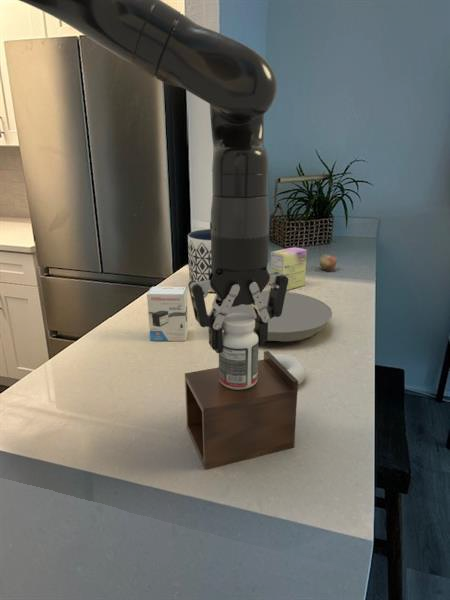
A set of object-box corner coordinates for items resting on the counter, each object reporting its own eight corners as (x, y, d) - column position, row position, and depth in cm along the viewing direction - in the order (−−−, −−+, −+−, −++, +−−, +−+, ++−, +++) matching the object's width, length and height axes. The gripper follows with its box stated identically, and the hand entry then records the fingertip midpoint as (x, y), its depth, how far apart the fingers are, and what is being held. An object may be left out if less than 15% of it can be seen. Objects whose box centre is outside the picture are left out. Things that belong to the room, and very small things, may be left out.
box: (292, 281, 142) (294, 246, 138) (305, 285, 138) (307, 249, 134) (269, 287, 136) (270, 251, 132) (282, 292, 132) (283, 254, 128)
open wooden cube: (205, 469, 60) (203, 399, 56) (186, 428, 69) (184, 365, 65) (294, 447, 65) (298, 380, 61) (266, 410, 73) (268, 350, 70)
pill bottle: (241, 367, 67) (242, 308, 64) (265, 382, 63) (267, 320, 59) (211, 378, 64) (210, 317, 61) (234, 395, 60) (235, 330, 56)
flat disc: (235, 301, 124) (235, 286, 123) (335, 312, 116) (336, 296, 115) (201, 341, 99) (200, 323, 98) (324, 358, 91) (326, 339, 90)
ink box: (149, 341, 99) (146, 293, 95) (153, 332, 104) (150, 286, 100) (186, 341, 99) (184, 293, 95) (188, 332, 104) (187, 286, 100)
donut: (244, 381, 83) (289, 397, 77) (243, 365, 82) (290, 380, 76) (271, 361, 90) (314, 375, 84) (271, 346, 89) (315, 359, 83)
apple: (317, 272, 152) (318, 256, 149) (320, 267, 159) (321, 251, 157) (334, 274, 150) (335, 257, 148) (337, 268, 157) (338, 252, 155)
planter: (241, 294, 130) (242, 241, 124) (183, 292, 132) (181, 239, 127) (248, 277, 146) (249, 229, 141) (196, 275, 149) (194, 228, 144)
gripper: (194, 240, 50) (197, 368, 56) (303, 231, 55) (295, 351, 60) (178, 228, 57) (183, 344, 63) (277, 222, 61) (272, 330, 67)
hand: (238, 347), depth 61 cm, fingers closed on pill bottle, 5 cm apart
